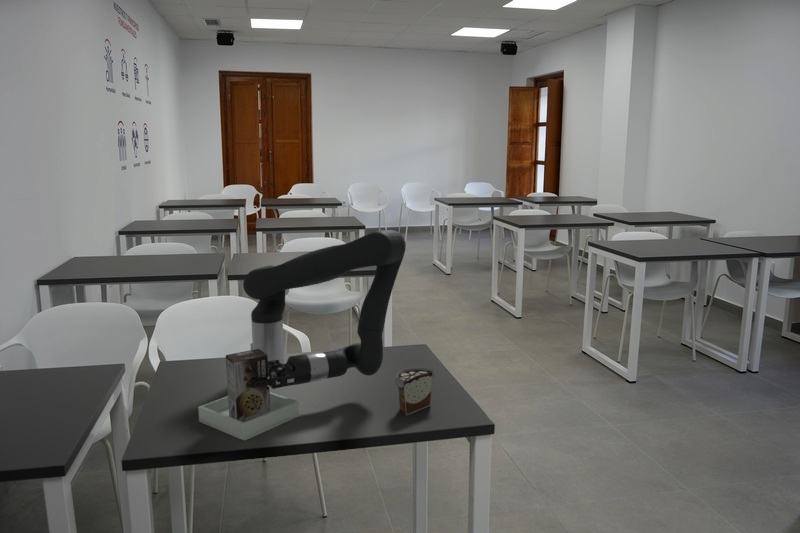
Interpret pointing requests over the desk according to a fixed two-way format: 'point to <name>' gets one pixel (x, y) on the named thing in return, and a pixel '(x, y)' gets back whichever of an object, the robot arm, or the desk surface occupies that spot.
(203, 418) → the tray
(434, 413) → the desk surface
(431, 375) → the food container
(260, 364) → the brown cardboard box
